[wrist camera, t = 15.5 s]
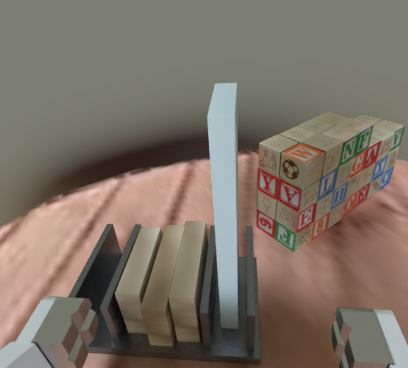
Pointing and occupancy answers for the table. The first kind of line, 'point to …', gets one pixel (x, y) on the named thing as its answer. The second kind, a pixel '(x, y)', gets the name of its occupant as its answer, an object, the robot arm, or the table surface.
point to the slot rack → (205, 350)
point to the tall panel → (225, 197)
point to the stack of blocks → (322, 173)
